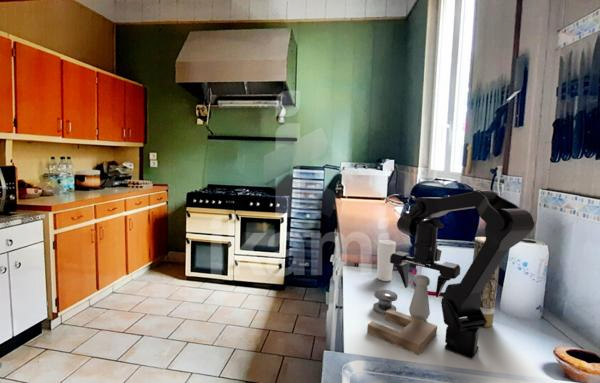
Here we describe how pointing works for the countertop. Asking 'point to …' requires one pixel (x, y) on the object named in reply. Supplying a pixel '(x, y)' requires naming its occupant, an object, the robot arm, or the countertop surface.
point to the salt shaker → (420, 298)
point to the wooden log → (487, 288)
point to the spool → (384, 301)
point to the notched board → (404, 331)
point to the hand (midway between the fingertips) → (421, 292)
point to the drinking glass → (385, 259)
